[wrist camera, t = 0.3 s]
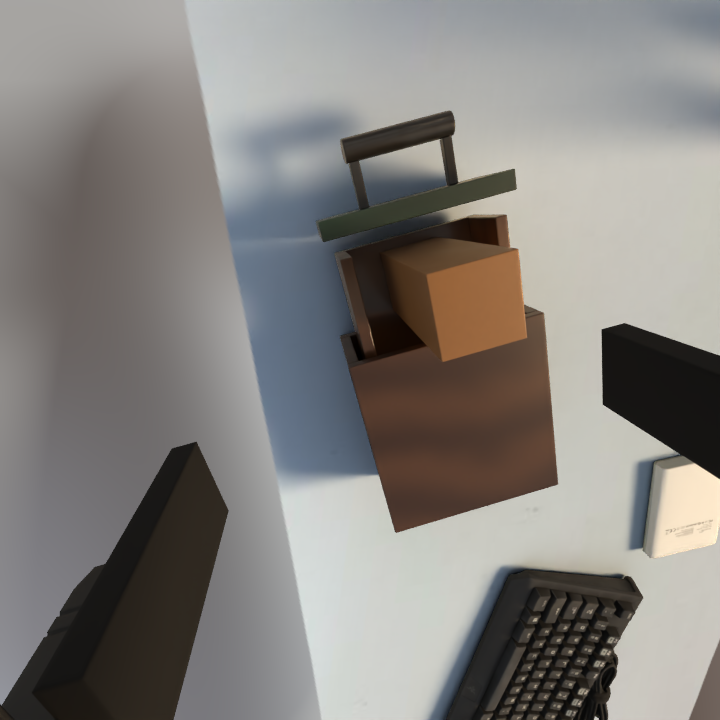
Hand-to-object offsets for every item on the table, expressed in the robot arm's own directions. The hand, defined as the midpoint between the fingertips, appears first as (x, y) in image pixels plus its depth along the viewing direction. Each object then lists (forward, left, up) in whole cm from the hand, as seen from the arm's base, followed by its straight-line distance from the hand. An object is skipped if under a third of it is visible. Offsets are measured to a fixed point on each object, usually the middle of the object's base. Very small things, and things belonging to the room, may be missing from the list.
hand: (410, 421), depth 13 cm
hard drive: (+32, +30, -21) cm, 49 cm away
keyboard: (+55, +11, -21) cm, 60 cm away
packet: (-1, +5, -19) cm, 20 cm away
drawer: (-2, +5, -20) cm, 21 cm away
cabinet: (+10, +5, -21) cm, 24 cm away
